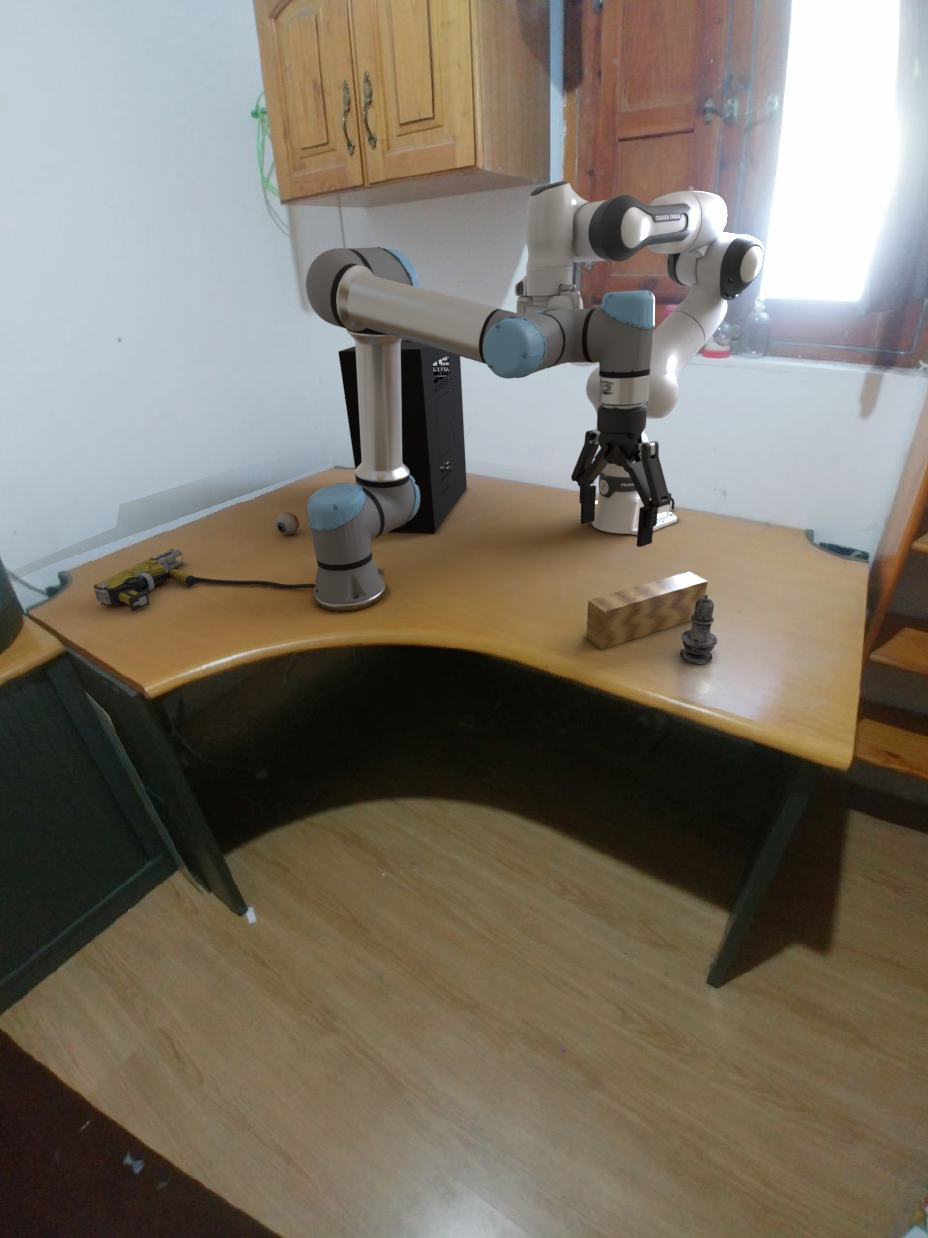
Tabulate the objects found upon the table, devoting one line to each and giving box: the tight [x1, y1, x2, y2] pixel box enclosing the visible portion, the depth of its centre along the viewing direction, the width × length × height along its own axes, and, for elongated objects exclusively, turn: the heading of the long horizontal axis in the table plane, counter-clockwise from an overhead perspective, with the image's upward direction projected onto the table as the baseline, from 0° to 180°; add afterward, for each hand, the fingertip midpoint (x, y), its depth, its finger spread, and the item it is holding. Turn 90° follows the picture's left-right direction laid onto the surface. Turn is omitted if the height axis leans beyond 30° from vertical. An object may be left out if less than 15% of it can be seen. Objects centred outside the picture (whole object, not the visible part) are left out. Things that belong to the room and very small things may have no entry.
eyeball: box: [275, 511, 300, 536], centre depth 163 cm, size 6×6×6 cm
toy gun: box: [93, 548, 197, 612], centre depth 139 cm, size 5×24×15 cm
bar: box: [585, 571, 708, 650], centre depth 112 cm, size 23×5×8 cm, turn 115°
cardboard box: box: [338, 339, 468, 534], centre depth 167 cm, size 38×20×45 cm, turn 167°
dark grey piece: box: [679, 593, 718, 665], centre depth 102 cm, size 6×6×12 cm
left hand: (614, 533), depth 104 cm, fingers open, 13 cm apart
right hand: (548, 361), depth 124 cm, fingers open, 8 cm apart
